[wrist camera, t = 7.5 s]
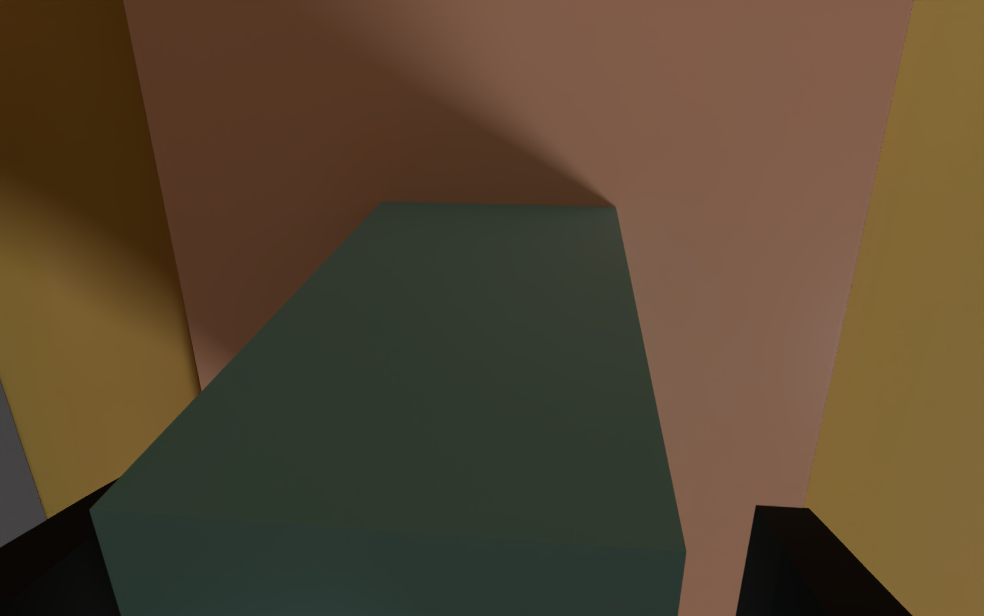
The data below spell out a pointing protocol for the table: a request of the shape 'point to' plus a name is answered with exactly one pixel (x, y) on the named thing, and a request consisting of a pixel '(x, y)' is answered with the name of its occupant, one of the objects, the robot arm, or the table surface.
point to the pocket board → (15, 482)
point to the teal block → (419, 438)
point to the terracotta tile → (554, 185)
